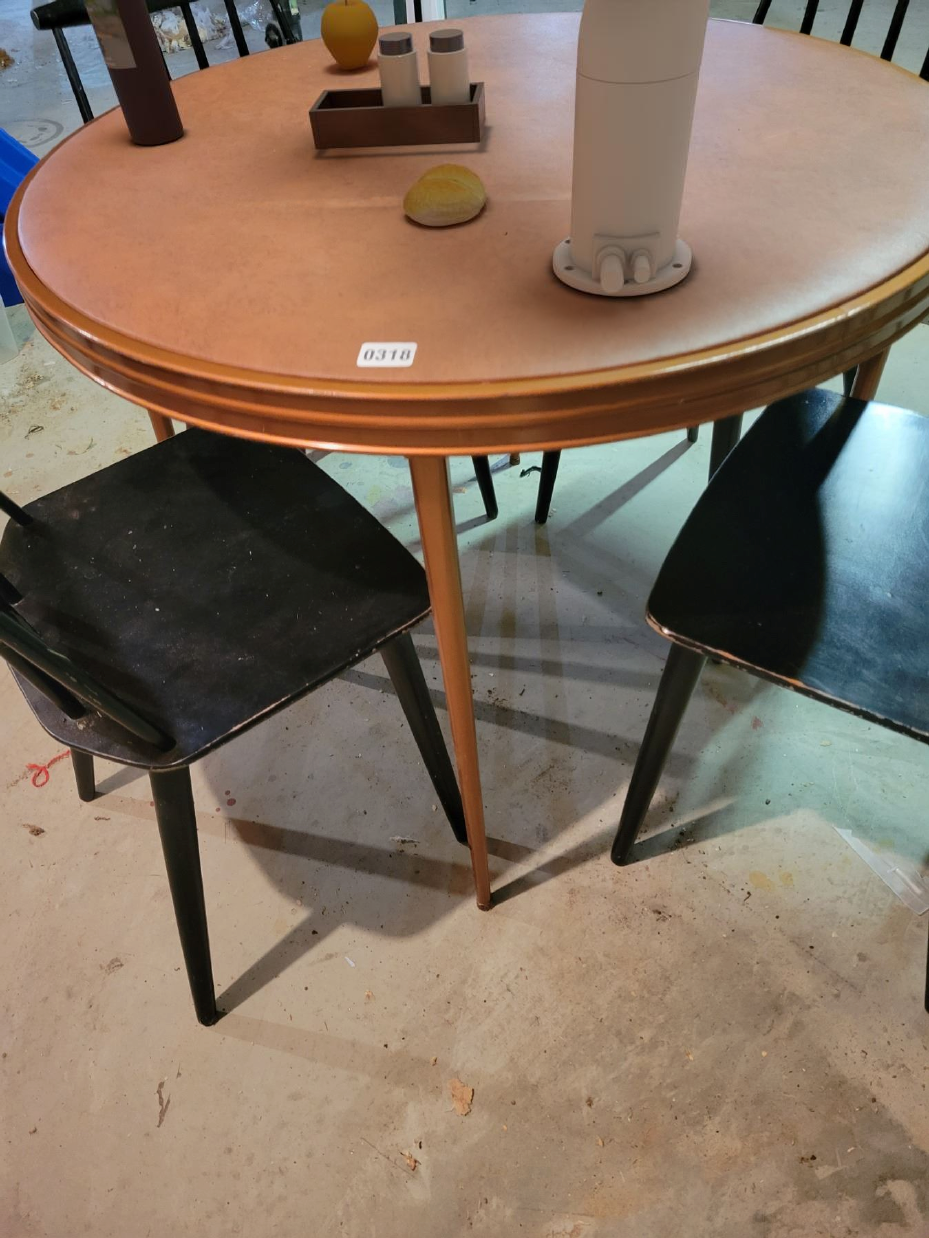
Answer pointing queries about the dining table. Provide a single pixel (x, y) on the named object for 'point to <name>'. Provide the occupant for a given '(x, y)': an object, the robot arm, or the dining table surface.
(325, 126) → the spice rack
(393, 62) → the shaker
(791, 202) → the dining table surface
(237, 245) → the dining table surface
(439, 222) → the bread roll
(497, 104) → the dining table surface
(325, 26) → the apple
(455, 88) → the shaker
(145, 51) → the wine bottle
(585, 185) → the robot arm
